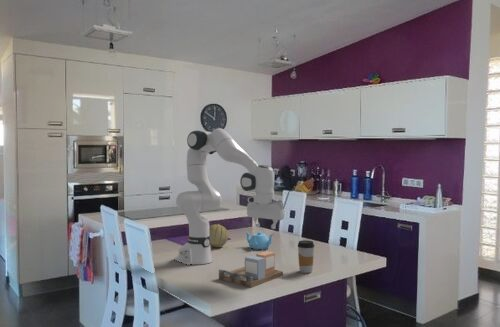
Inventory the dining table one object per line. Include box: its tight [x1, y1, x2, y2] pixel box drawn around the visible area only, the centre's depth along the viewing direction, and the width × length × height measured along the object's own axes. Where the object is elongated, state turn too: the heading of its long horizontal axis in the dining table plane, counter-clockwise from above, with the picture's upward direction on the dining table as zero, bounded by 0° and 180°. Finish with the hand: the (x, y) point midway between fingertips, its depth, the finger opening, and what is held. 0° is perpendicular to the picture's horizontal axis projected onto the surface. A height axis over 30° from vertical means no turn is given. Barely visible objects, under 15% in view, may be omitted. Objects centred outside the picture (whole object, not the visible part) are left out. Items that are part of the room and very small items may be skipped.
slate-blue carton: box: [244, 255, 265, 280], centre depth 195 cm, size 5×8×9 cm, turn 50°
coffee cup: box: [297, 239, 315, 274], centre depth 212 cm, size 8×8×15 cm
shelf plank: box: [218, 266, 284, 288], centre depth 202 cm, size 20×24×4 cm
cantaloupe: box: [209, 222, 229, 248], centre depth 268 cm, size 15×15×15 cm
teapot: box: [245, 231, 274, 250], centre depth 265 cm, size 15×15×10 cm
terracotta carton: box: [255, 250, 276, 274], centre depth 204 cm, size 5×8×9 cm, turn 140°
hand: (265, 227), depth 203 cm, fingers open, 8 cm apart
